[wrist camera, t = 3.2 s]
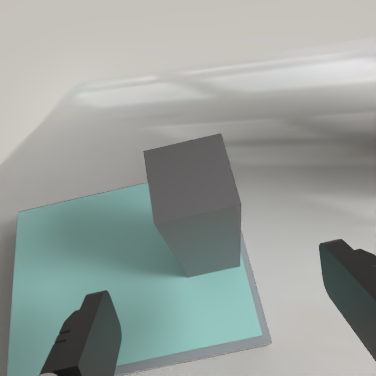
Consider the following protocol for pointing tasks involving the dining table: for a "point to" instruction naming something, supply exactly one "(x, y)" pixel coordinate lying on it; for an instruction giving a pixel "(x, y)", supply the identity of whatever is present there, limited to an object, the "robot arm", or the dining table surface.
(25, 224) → the lid
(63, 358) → the robot arm
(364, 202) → the dining table surface
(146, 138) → the dining table surface
